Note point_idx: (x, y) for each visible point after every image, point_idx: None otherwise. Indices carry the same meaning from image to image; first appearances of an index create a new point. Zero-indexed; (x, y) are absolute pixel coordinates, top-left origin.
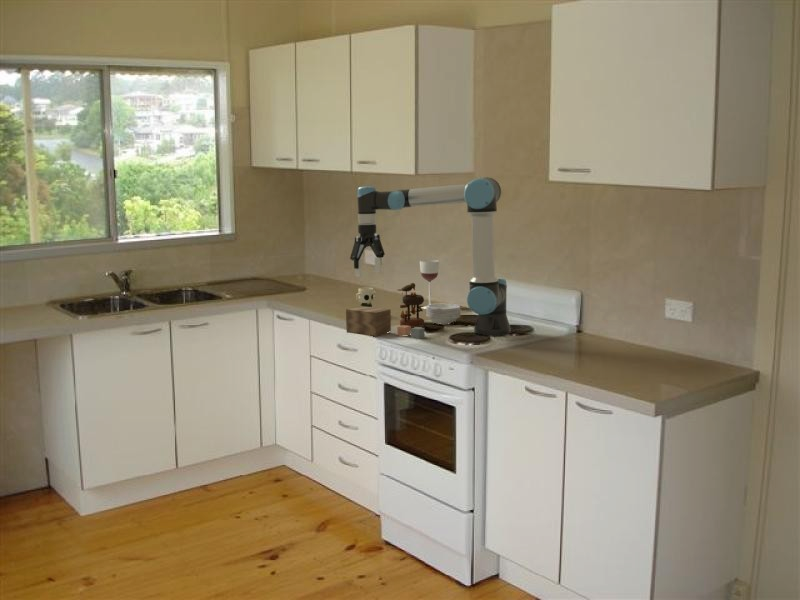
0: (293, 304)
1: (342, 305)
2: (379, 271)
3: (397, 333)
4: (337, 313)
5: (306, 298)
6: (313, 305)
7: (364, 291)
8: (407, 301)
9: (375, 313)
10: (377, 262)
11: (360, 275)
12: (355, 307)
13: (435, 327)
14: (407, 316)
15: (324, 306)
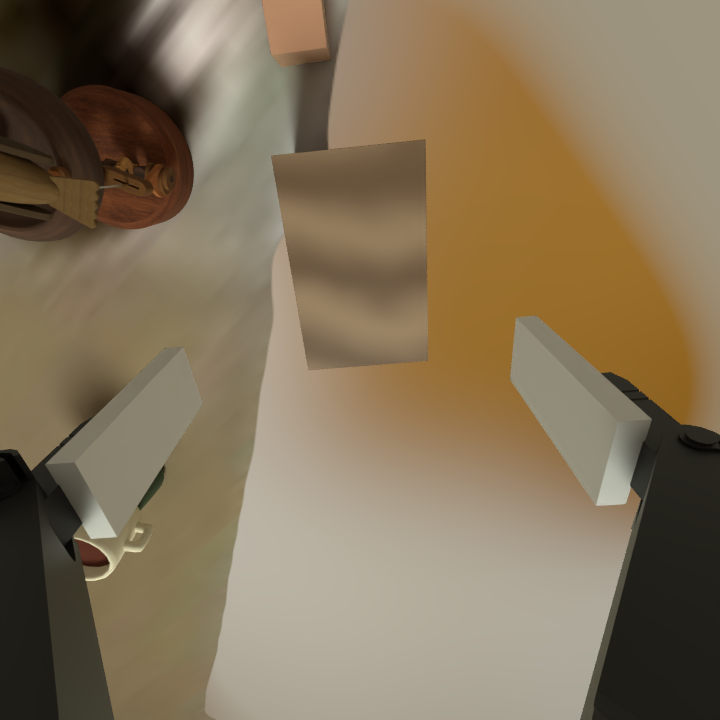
0: (202, 676)
1: (100, 609)
2: (178, 361)
3: (329, 56)
4: (190, 550)
5: (125, 700)
6: (169, 647)
7: (106, 540)
8: (90, 145)
9: (424, 143)
10: (136, 447)
11: (531, 320)
12: (358, 361)
13: (25, 54)
14: (135, 165)
15: (153, 626)
